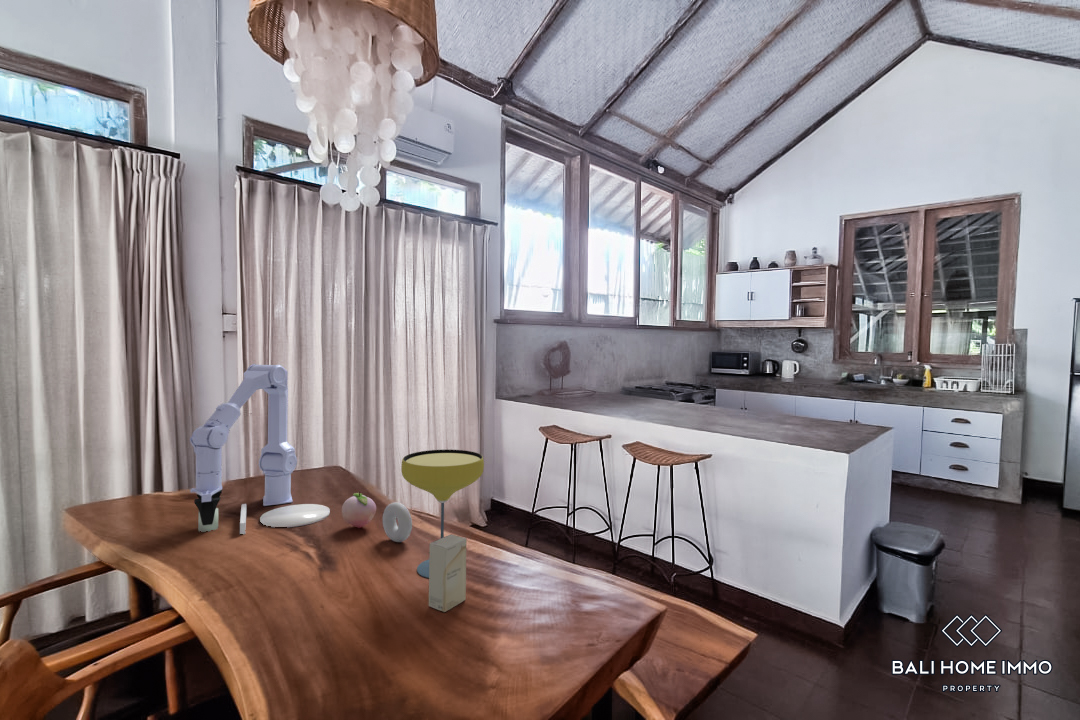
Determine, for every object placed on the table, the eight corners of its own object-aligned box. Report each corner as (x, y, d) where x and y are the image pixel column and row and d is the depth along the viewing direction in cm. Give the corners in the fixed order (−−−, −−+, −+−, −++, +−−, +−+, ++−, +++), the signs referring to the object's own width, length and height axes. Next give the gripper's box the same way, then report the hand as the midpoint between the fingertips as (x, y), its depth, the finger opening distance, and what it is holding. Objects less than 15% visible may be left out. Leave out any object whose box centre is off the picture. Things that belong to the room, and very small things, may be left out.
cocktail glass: (395, 558, 114) (396, 451, 113) (470, 547, 121) (471, 447, 120) (406, 594, 97) (407, 469, 97) (492, 578, 104) (494, 463, 104)
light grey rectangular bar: (241, 514, 142) (241, 504, 142) (246, 513, 142) (246, 503, 142) (239, 534, 126) (240, 523, 126) (245, 534, 127) (245, 522, 127)
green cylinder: (199, 527, 131) (199, 509, 131) (218, 524, 133) (218, 506, 133) (197, 532, 127) (197, 513, 127) (217, 530, 129) (217, 511, 129)
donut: (379, 538, 125) (379, 500, 125) (390, 534, 128) (391, 497, 128) (403, 548, 119) (404, 508, 119) (414, 544, 122) (415, 504, 122)
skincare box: (444, 613, 90) (445, 548, 90) (427, 606, 93) (428, 543, 92) (466, 599, 96) (467, 538, 95) (449, 593, 98) (450, 533, 98)
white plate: (259, 512, 144) (259, 509, 144) (325, 503, 153) (325, 500, 153) (260, 531, 128) (260, 528, 128) (333, 521, 137) (333, 518, 137)
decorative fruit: (335, 527, 132) (335, 491, 132) (363, 520, 138) (364, 485, 138) (351, 537, 126) (352, 498, 126) (380, 529, 132) (381, 492, 132)
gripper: (193, 466, 134) (193, 515, 134) (187, 479, 122) (186, 533, 122) (223, 464, 138) (223, 511, 138) (220, 475, 125) (220, 528, 125)
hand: (208, 521), depth 130 cm, fingers open, 4 cm apart
